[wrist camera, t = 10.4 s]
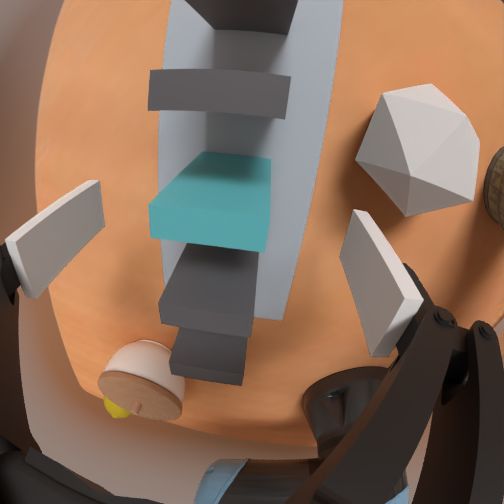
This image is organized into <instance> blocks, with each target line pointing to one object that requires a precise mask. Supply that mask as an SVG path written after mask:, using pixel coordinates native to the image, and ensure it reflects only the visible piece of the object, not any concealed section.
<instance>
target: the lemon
mask: <svg viewBox="0 0 504 504" xmlns="http://www.w3.org/2000/svg"><path fill="white" fill-rule="evenodd" d="M104 405H105V407H106V409H107V411H108V412H109V413H110V414H111V415H112V417H113V418H125V417H127V416H130V415H131V414H132V413H131V412H129V411H126V410H125V409H123V408H121V407H119V406H117V405H116V404H115V403H113V402H112V401H110V400H109V399H108V398H107V397H106V396H105V395H104Z"/></svg>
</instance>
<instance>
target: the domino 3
mask: <svg viewBox="0 0 504 504" xmlns="http://www.w3.org/2000/svg"><path fill="white" fill-rule="evenodd" d="M258 260H259V252H256V251H248V250H241V249H233V248H225V247H218V246H210V245H202V244H195V243H187V244H186V246H185V248H184V250H183V252H182V254H181V256H180V258H179V260H178V262H177V264H176V266H175V268H174V270H173V272H172V275H171V277H170V279H169V281H168V283H167V285H166V287H165V289H164V292H163V294H162V296H161V298H160V300H159V303H158V305H159V312H160V318H161V324H166V325H172V326H177V327H183V328H189V329H194V330H200V331H207V332H213V333H220V334H227V335H234V336H242V337H250V336H251V330H252V324H253V319H254V308H255V296H256V284H257V272H258Z"/></svg>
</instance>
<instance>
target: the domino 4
mask: <svg viewBox="0 0 504 504" xmlns="http://www.w3.org/2000/svg"><path fill="white" fill-rule="evenodd" d="M247 338H248V337H242V336H234V335H227V334H220V333H213V332H207V331H200V330H194V329H189V328H183V327H180V328H179V331H178V334H177V337H176V340H175V343H174V347H173V350H172V353H171V356H170V359H169V367H170V371H171V374H172V375H177V376H182V377H187V378H193V379H198V380H204V381H210V382H217V383H224V384H231V385H239V386H242V381H243V376H244V367H245V357H246V347H247Z"/></svg>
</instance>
